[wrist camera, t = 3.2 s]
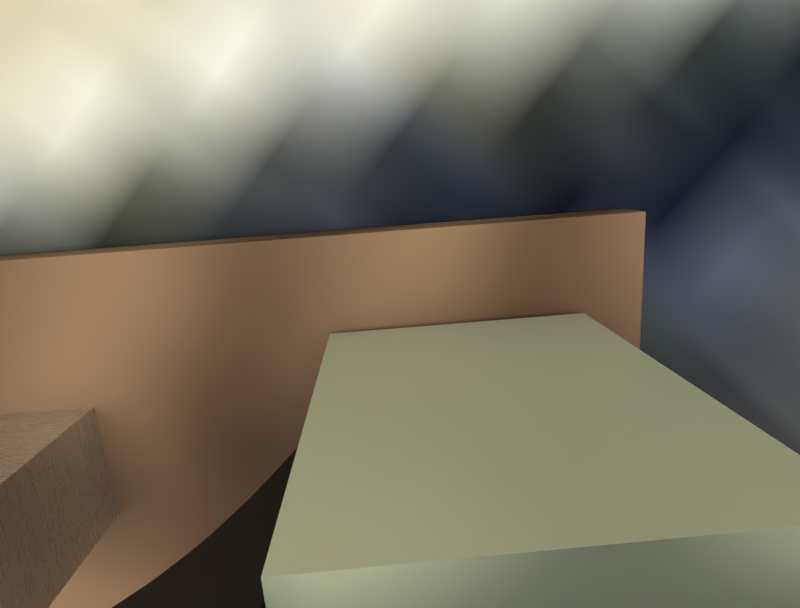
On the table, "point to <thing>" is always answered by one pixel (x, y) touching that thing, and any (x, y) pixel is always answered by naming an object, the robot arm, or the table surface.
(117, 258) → the board
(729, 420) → the pale green block
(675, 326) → the table surface
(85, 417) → the post
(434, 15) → the table surface
